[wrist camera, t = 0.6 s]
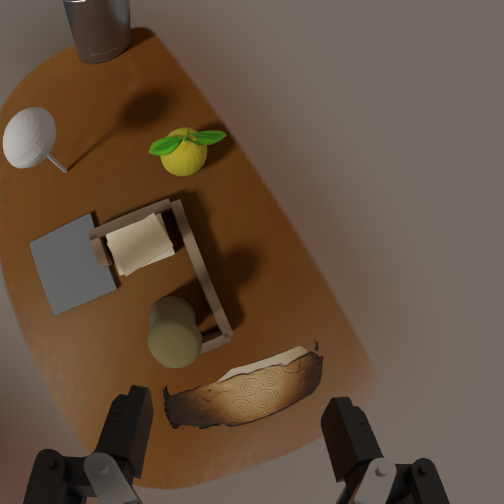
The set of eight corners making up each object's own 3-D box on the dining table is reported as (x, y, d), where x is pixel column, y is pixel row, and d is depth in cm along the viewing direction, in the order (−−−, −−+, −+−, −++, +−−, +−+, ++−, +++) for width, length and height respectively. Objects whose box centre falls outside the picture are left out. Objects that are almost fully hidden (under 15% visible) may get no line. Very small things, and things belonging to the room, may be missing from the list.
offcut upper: (112, 244, 28) (106, 243, 26) (155, 216, 30) (153, 212, 27) (129, 274, 29) (126, 276, 26) (172, 246, 31) (173, 245, 28)
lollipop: (89, 184, 30) (45, 140, 15) (51, 200, 28) (-7, 170, 14) (81, 143, 29) (43, 85, 15) (45, 159, 28) (-6, 113, 13)
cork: (199, 299, 34) (213, 318, 24) (193, 344, 34) (205, 379, 23) (151, 292, 32) (144, 309, 22) (147, 338, 32) (140, 373, 21)
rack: (92, 233, 30) (87, 231, 28) (177, 198, 33) (178, 194, 31) (150, 367, 32) (150, 375, 29) (231, 333, 35) (235, 338, 33)
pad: (31, 243, 27) (29, 243, 26) (91, 213, 30) (90, 213, 29) (56, 314, 28) (54, 315, 28) (117, 288, 31) (116, 289, 30)
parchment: (318, 337, 39) (321, 339, 39) (326, 389, 40) (328, 391, 39) (155, 385, 33) (155, 388, 32) (178, 438, 33) (178, 441, 32)
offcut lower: (110, 236, 31) (105, 234, 28) (161, 216, 33) (160, 213, 30) (123, 273, 32) (119, 275, 29) (174, 254, 34) (175, 253, 31)
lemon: (215, 155, 35) (233, 122, 25) (194, 192, 34) (204, 169, 24) (172, 133, 33) (177, 93, 23) (149, 169, 32) (144, 138, 23)
